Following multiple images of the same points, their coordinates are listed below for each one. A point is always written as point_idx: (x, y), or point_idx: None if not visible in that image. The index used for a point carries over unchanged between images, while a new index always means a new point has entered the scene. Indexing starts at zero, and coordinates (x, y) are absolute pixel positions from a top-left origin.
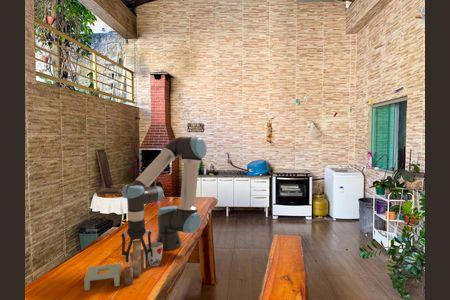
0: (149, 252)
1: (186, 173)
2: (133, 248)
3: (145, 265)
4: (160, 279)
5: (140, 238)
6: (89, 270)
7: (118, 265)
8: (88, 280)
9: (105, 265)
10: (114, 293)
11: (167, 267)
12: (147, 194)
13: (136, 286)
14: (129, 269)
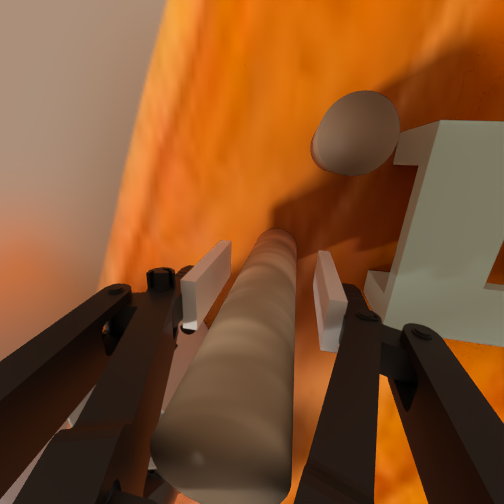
0: (174, 369)
1: None
2: (289, 357)
3: (216, 245)
4: (156, 142)
5: (73, 501)
6: None
7: (404, 305)
8: None
9: (501, 343)
10: (456, 17)
11: (127, 272)
12: None
13: (294, 89)
14: (354, 100)
